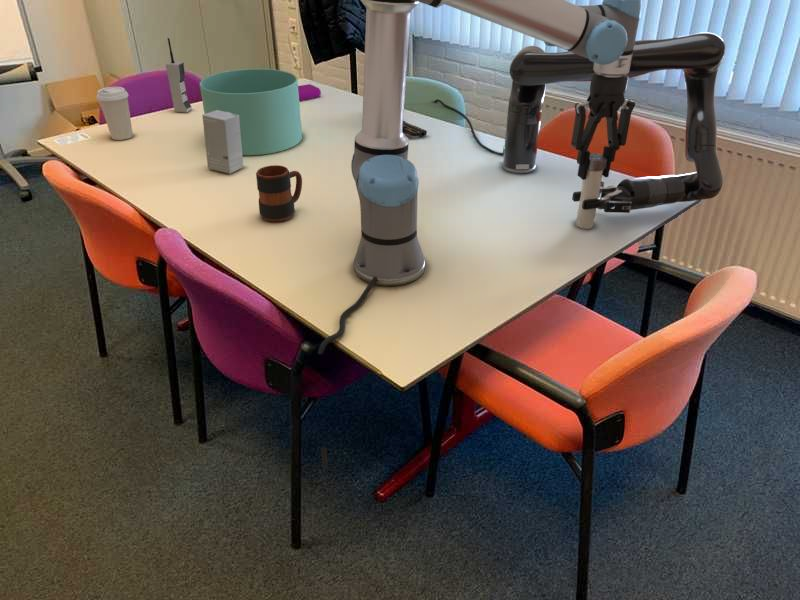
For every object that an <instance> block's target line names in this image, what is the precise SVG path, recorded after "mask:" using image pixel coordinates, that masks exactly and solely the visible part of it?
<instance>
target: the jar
mask: <svg viewBox="0 0 800 600" xmlns="http://www.w3.org/2000/svg"><path fill="white" fill-rule="evenodd" d="M602 174H603V170H601V171H593V170H588V169H587V175H586V179H585V180H583V179H582V185H581V190H580V191H581V195H580V201H578V208H577V214H576V220H575V226H576V227H578V228H580V229H585V230H588V229H592V228H593V227H594V223H595V218H596V211H597V208H594V209H587V210H584V209H583V208H582V203H583V201H584V200H588V199H596V198H597V199H598V196H599V191H600V185H601V181H603V180H602V178H603V175H602Z"/></svg>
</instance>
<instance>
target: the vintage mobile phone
mask: <svg viewBox="0 0 800 600" xmlns="http://www.w3.org/2000/svg"><path fill="white" fill-rule="evenodd" d="M167 43H168V48H169V56H170V61H169V62H167V63H165V70H166V75H167V79H168V84H169V89H170V95H171V100H172V106H173V110H174V113H175V112H176V113H189V112H190V111H192V109H193V108H192V105H191V103H190V101H189V99H188V93H187V87H186V82H185V78H186V73H185V72H186V71H185V63H184V61H175V58H174V54H173V53H174V52H173V50H172V44H171V40H170V38H169V37H167Z"/></svg>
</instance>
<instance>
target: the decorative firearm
mask: <svg viewBox="0 0 800 600" xmlns="http://www.w3.org/2000/svg"><path fill="white" fill-rule="evenodd" d="M402 132H403V134H406V135H408V136H411V137H415V138H416V137H419V138H424V137H426V136H427V132H428V130H426V129H423V128H421V127H420V126H416V125H413V124H411V123H409V122H406V121H405V120H403V130H402Z"/></svg>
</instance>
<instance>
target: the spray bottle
mask: <svg viewBox="0 0 800 600" xmlns="http://www.w3.org/2000/svg"><path fill="white" fill-rule="evenodd" d="M298 92H299V102H300V101H305V100H310V99H316V98H319V97H321V96H322V92H321V89H320V87H317V86H315V85H313V84H310V83H309V84H301V85H298Z"/></svg>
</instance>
